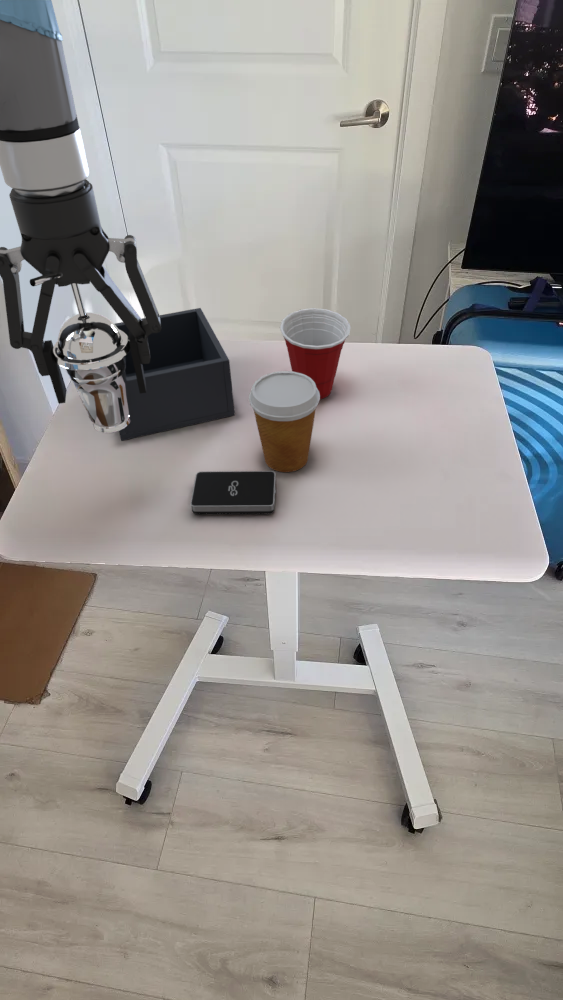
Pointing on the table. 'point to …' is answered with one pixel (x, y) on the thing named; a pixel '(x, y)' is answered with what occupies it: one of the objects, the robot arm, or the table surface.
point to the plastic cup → (315, 344)
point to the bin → (179, 377)
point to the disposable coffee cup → (285, 417)
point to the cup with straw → (94, 362)
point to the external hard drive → (234, 492)
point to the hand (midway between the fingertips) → (102, 391)
